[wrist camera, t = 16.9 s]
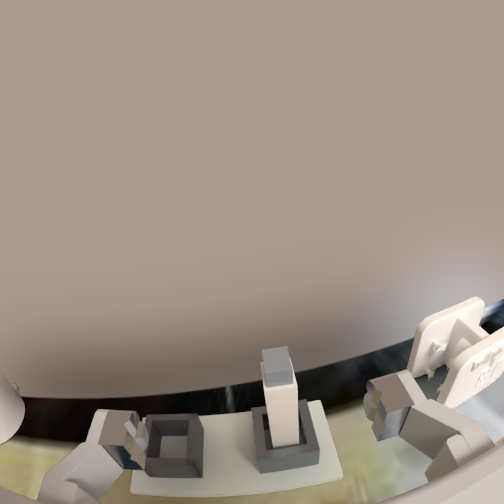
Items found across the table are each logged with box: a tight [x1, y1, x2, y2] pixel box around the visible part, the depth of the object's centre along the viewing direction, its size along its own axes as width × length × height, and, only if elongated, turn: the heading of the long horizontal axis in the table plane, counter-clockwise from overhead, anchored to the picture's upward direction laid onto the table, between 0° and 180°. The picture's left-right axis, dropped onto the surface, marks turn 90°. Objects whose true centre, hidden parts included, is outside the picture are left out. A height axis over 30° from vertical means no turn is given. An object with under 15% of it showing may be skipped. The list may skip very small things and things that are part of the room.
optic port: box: [251, 399, 320, 474], centre depth 32 cm, size 7×8×4 cm
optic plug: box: [261, 346, 299, 450], centre depth 30 cm, size 3×4×16 cm
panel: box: [130, 400, 343, 497], centre depth 32 cm, size 26×13×5 cm, turn 94°
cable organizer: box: [407, 297, 504, 409], centre depth 35 cm, size 15×11×12 cm
